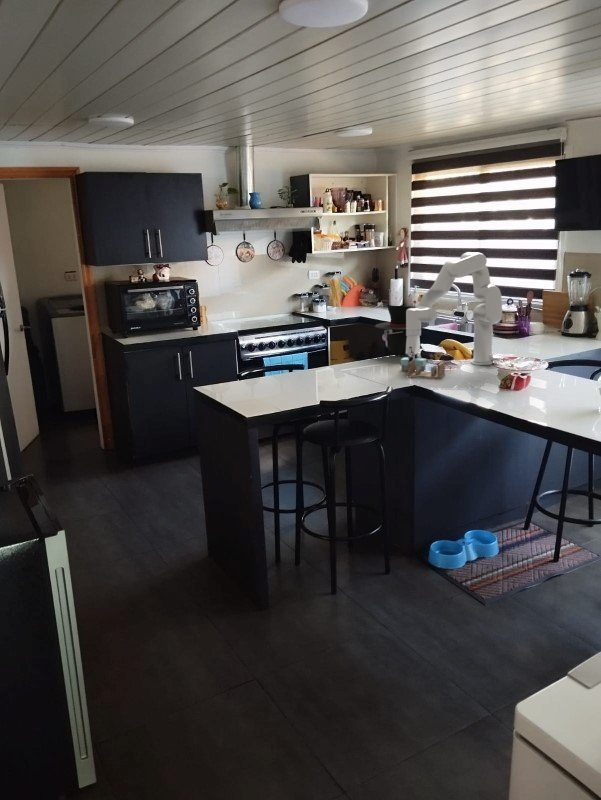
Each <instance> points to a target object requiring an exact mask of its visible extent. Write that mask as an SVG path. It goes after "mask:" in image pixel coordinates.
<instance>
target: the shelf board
mask: <svg viewBox="0 0 601 800" xmlns="http://www.w3.org/2000/svg"><path fill="white" fill-rule="evenodd" d="M414 360H415V366H418V365H421V366H424V365H427V358H422V357H421V358H420V357H418V358H414ZM408 363H409V360H408V357H406V356H405V357H404V356H403V357H402V358H401V359H400V366H402V365H408Z"/></svg>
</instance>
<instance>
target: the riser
mask: <svg viewBox="0 0 601 800" xmlns="http://www.w3.org/2000/svg"><path fill="white" fill-rule="evenodd" d="M426 365H427V364H426ZM426 365H424V366H421V372H422V371H424V370H425V371H426V367H427V366H426ZM406 370H408V365H401V371H406ZM415 370H416V366H415ZM425 371H424V372H425Z"/></svg>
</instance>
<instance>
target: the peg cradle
mask: <svg viewBox="0 0 601 800" xmlns="http://www.w3.org/2000/svg"><path fill="white" fill-rule="evenodd" d="M445 363H446V361H441V362H440V363H438V364H437V365H433V366H431V367H430V371H429V372H428V371H424V372H422V371H421V365H418V366H416V371H415V360H412V361H410V362H409V363H408V371H407V375H406V377H407V376H411V377H410V378H415V377H422V378H421V379H430V378H434V379H433V380H441V379H443V377H444V378H445V376H446V373H445V371H446V370H445V367H446V366H445Z"/></svg>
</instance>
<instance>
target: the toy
mask: <svg viewBox="0 0 601 800" xmlns="http://www.w3.org/2000/svg"><path fill="white" fill-rule="evenodd" d="M410 308H417V306H414V305H413V306H412V305H411V306H410V305H396V306H395V305H394V306H390V307H388V308H387V311H388V313H389V317H390V321H387V322H381V323H378V324H375V325H374V327H375V328H377V329H379V330H380V329H381V330H384V333H383V334H382V335H381V336H382V340H383V341H384V342H385V347H386V348H387V349H388V350H389V352H390V353H392V354H393V355H395V356H397V357H404V356H405V357H406V356H407V355H406V340H407V336H406V311H407V309H410ZM427 327H429V323H428V322H421V329H424V328H427ZM398 355H400V356H398Z"/></svg>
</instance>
